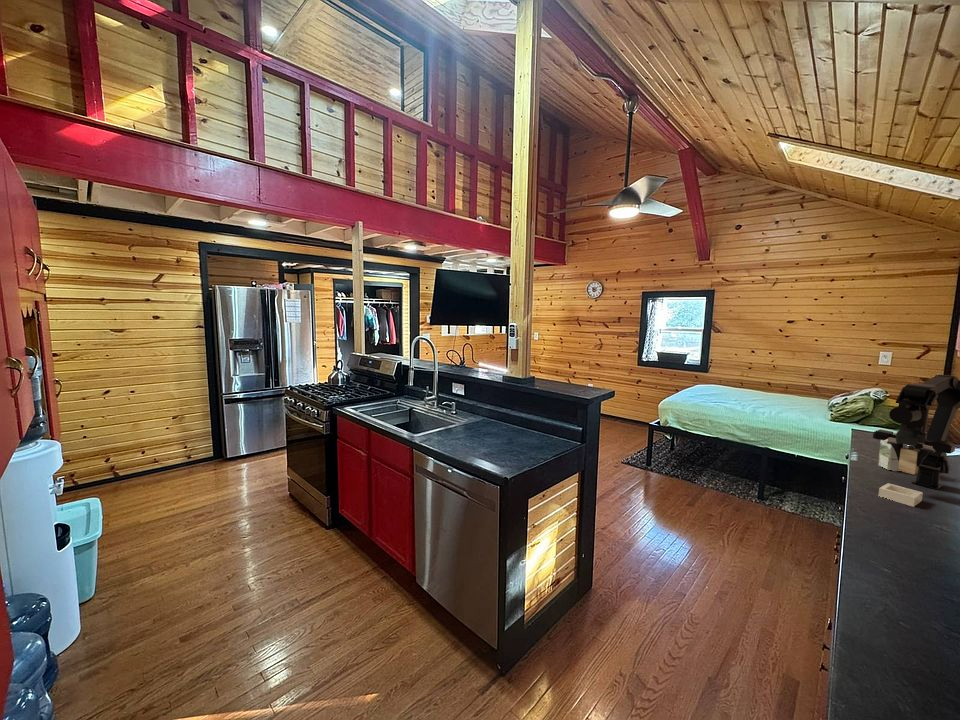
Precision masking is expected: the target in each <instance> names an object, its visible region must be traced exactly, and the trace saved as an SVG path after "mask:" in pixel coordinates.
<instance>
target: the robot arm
mask: <svg viewBox="0 0 960 720" xmlns="http://www.w3.org/2000/svg"><path fill="white" fill-rule="evenodd" d="M935 402H936V403H937V407H936V408H935V412H934V414H933V416H932V419H931V422H930V425H929V427H928V419H929V412H930V409H931V407H933V405H934V403H935ZM895 404H897V405H898V406H895V407H893V408H891V410H890V411H889V412H888V414H889V418H890V419H891V420H892V422H894V423H895V424H896V423H897V424H899V425H901V426H900V428H899V429H898V430H897V432H895V433H896V435H894V434H893V433H894V431H890V430H886V429H880V428H879V429H877V430H875V431H873V434H872V439H874V440H875V439H876V440H880V441H881V440H886V439H888V442H887V443H888V444H891V445H892V447H893V448H894V450H895V452H896V455H897V458H898V461H899V459H900V451H901V448H903V444H906V445H908V446H912V447H914V449H917V450H920V454H919V458H918V461H917V467H919V469H918V473H916V474H915V479H914V480H912V481H911V484H914V485H918V486H921V487H922V486H923V487H927V488H929V489H933V490H939V489H940V488H941V487H943V484H941V483H940V480H941V474H950V469H951V465H950V462H949V461H948V458H947V456H948V454H952V453H955V451H956V444H955V443H954V442H952V441H946V439H947V436H948V434H949V430H950V428H951V426H952V423H953V420H954V418H955V415H956V412H957V410H959V409H960V379H959V378H958V376H955V375H949V374H947V375H946V374H935V375H934V376H933V377H932V378H929V379H928V380H926V381H924V382H922V383H907V384H906V385H904V386H903V387H902V388H901V390H900V391H899V394H898V396H897V398H896V400H895ZM927 428H928V429H927Z"/></svg>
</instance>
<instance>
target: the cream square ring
mask: <svg viewBox="0 0 960 720" xmlns="http://www.w3.org/2000/svg"><path fill="white" fill-rule="evenodd" d="M923 494H924V493H923V492H922V491H919V490H915V489H911V488H908V487H903V486H900V485H897V484H893V483H889V482H888V483H886V484H884V485H882V486H880V487H879V489H878V494H877V495H878V497H879V496H880V497H879V498H882V497H884V498H883V499H885V498H887V499H886V500H889V499H890V501H892V500H893V502H897V503H900V504H903V505H907V506H909V507H913V508H914V507H916V506H917V505H918V504H920V503H921V502H923V501H922V500H923Z"/></svg>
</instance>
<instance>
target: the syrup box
mask: <svg viewBox="0 0 960 720" xmlns="http://www.w3.org/2000/svg"><path fill="white" fill-rule="evenodd" d="M896 433H897V432H893V434H894V435H896ZM887 442H888V439H886V440H880V442H879V443H880V445H879V453H878V462H877V466H878V467H880V468H882V467H883V469H884V468H885V469H884V470H886V469H887V470H886V471H888V470H892V471H891V472H897V471H898V466H899V461H898V458H897V455H896V452H895V450H894V448H893V447H892V445H891V444H888V443H887ZM908 446H909V445H906V444H903V447H907V448H908Z"/></svg>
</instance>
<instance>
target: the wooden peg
mask: <svg viewBox="0 0 960 720" xmlns="http://www.w3.org/2000/svg"><path fill="white" fill-rule="evenodd" d="M919 454H920V450H917V449H914V446H909V445H908V446H907V447H903V448H901V451H900V459H899V466H898V471H902V472H901V473H907V474H911V475H916V473H918V469H919V467H917V461H918V458H919Z"/></svg>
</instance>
